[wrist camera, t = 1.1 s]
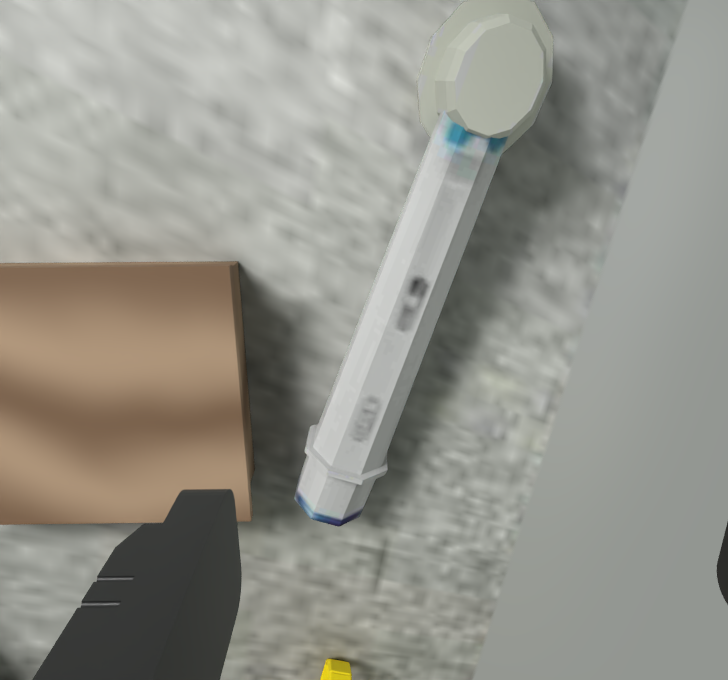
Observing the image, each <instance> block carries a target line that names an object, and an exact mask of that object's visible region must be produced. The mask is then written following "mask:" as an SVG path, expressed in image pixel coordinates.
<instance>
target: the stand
mask: <svg viewBox="0 0 728 680" xmlns="http://www.w3.org/2000/svg"><path fill="white" fill-rule="evenodd" d="M254 470H255V466H254V454H253V441H252V429H251V416H250V404H249V391H248V379H247V367H246V354H245V342H244V329H243V317H242V304H241V292H240V279H239V267H238V261H235V262H103V263H0V525H9V524H85V523H162V522H164V520H165V518H166V517H167V515H168V513H169V511H170V509H171V507H172V505H173V504H174V502H175V500H176V498H177V496H178V495H179V493H180V492H181V491H182V490H185V489H231V490H232V491H233V494H234V498H235V507H236V518H237V522H238V521H251V520H252V516H253V511H252V499H251V487H250V483H251V479H252V476H253V473H254Z"/></svg>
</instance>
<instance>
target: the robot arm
mask: <svg viewBox="0 0 728 680" xmlns="http://www.w3.org/2000/svg"><path fill="white" fill-rule="evenodd" d="M97 577H98V578H97V582H93V584H92V586H91V587H90V589H89V590H88V592H87V594H86V595H85V597H84V598H83V600H82V605H81V608H77V610H76V611H75V613H74V614H73V616H72V618H71V619H70V621H69V622H68V624H67V625H66V627H65V629H64V630H63V632H62V633H61V635H60V637H59V638H58V640H57V641H56V643H55V645H54V646H53V648H52V649H51V651H50V653H49V654H48V656H47V657H46V659H45V661H44V662H43V664H42V665H41V667H40V668H39V670H38V672H37V673H36V675H35V676H34V678H33V680H220V676H221V673H222V669H223V665H224V661H225V658H226V654H227V650H228V646H229V643H230V639H231V635H232V631H233V627H234V624H235V620H236V616H237V612H238V607H239V601H240V594H241V560H240V550H239V539H238V528H237V518H236V507H235V498H234V494H233V491H232V490H231V489H185V490H182V491H181V492H180V493H179V495H178V496H177V498H176V500H175V502H174V504H173V505H172V507H171V509H170V511H169V513H168V515H167V517H166V518H165V520H164V522H163V523H158V524H143V525H142V526H141V527H140V528H138V529H137V530H136V531H135V532H134V533H132V534H131V535H130V536H129V537H127V538H126V539H125V540H124V541H123V542H121V543H120V544H119V545H118V546H117V547H115V549H114V551H113V552H112V554H111V555H110V557H109V559H108V560H107V562H106V563H105V565H104V567H103V568H102V570H101V571H100V573H99V575H98V576H97ZM717 578H718V583H719V587H720V590H721V592H722V595H723V597H724V599H725V601H726V602H727V604H728V523H727V527H726V531H725V536H724V539H723V543H722V547H721V551H720V555H719V559H718V563H717Z"/></svg>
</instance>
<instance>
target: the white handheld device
mask: <svg viewBox="0 0 728 680" xmlns="http://www.w3.org/2000/svg"><path fill="white" fill-rule="evenodd" d="M552 69H553V36H552V34H551V32H550V30H549V28H548V26H547V24H546V22H545V21H544V19H543V17H542V15H541V13H540V11H539V9H538V7H537V5H536V3H535V2H533V1H531V0H467V1H464V2H463V3H462V4H461V5H460V6H459V7H458V8H457V9H456V10H455V11H454V13H453V14H452V15H451V16H450V17H449V18H448V19H447V20H446V21H445V23H444V24H443V25H442V26H441V27H440V28H439V29H438V30H437V32H436V33H435V34H434V35H433V36H432V37H431V40H430V43H429V46H428V49H427V52H426V55H425V58H424V61H423V63H422V66H421V69H420V72H419V75H418V78H417V92H418V105H419V118H420V123H421V124H422V126H423V127H424V129H425V130H426V132H427V133H428V135H429V137H430V141H429V143H428V146H427V148H426V151H425V153H424V156H423V159H422V161H421V164H420V166H419V169H418V171H417V174H416V176H415V179H414V181H413V184H412V187H411V189H410V192H409V194H408V197H407V199H406V202H405V204H404V207H403V209H402V212H401V215H400V217H399V220H398V222H397V225H396V227H395V230H394V232H393V235H392V237H391V240H390V243H389V245H388V248H387V250H386V253H385V255H384V258H383V260H382V263H381V265H380V268H379V271H378V273H377V276H376V278H375V281H374V283H373V286H372V288H371V291H370V294H369V296H368V299H367V301H366V304H365V306H364V309H363V311H362V314H361V316H360V319H359V322H358V324H357V327H356V329H355V332H354V334H353V337H352V339H351V342H350V344H349V347H348V350H347V352H346V355H345V357H344V360H343V362H342V365H341V367H340V370H339V372H338V375H337V378H336V380H335V383H334V385H333V388H332V390H331V393H330V395H329V398H328V400H327V403H326V406H325V408H324V411H323V413H322V416H321V418H320V421H319V423H318V424H316V425H313V426H310V429H309V432H308V437H307V442H306V447H305V453H306V454H307V457H306V459H305V462H304V465H303V468H302V471H301V473H300V476H299V479H298V483H297V488H296V493H295V497H294V499H295V501H296V502H297V503H298V504H299V505H300V507H301V508H302V509H303V510H304V511H305V512H306V514H307V515H308V516H309V517H310V518H311V519H313V520H316V521H320V522H324V523H328V524H331V525H335V526H341V525H343V524H345V523H347V522H350V521H352V520H354V519H356V518H358V517H359V516H360V514H361V512H362V510H363V507H364V505H365V503H366V500H367V498H368V496H369V494H370V491H371V489H372V487H373V484H374V482H375V480H376V479H377V478H379V477H381V476H384V475H385V474H386V472H387V451H388V448H389V445H390V443H391V440H392V438H393V435H394V432H395V430H396V427H397V425H398V422H399V419H400V417H401V414H402V412H403V409H404V406H405V404H406V401H407V399H408V396H409V393H410V391H411V388H412V386H413V383H414V380H415V378H416V375H417V373H418V370H419V367H420V365H421V362H422V360H423V357H424V354H425V352H426V349H427V347H428V344H429V342H430V339H431V336H432V334H433V331H434V329H435V326H436V323H437V321H438V318H439V316H440V313H441V310H442V308H443V305H444V303H445V300H446V297H447V295H448V292H449V290H450V287H451V284H452V282H453V279H454V277H455V274H456V271H457V269H458V266H459V264H460V261H461V258H462V256H463V253H464V251H465V248H466V245H467V243H468V240H469V238H470V235H471V232H472V230H473V227H474V225H475V222H476V219H477V217H478V214H479V212H480V209H481V206H482V204H483V201H484V199H485V196H486V193H487V191H488V188H489V186H490V183H491V180H492V178H493V175H494V173H495V170H496V167H497V165H498V162H499V160H500V157H501V154H502V153H504V152H505V151H506V150H507V149H508V148H509V147H511V146H512V145H513V144H514V143H515V142H516V141H517V140H518V139H519V138H520V137H521V136H522V135H523V134H524V133H525V132H526V131H527V130H528V129H529V128H530V127H531V126H532V125H533V124H534V122H535V120H536V118H537V116H538V113H539V111H540V109H541V106H542V104H543V102H544V100H545V97H546V95H547V93H548V91H549V88H550V86H551V84H552Z"/></svg>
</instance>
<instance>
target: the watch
mask: <svg viewBox="0 0 728 680" xmlns="http://www.w3.org/2000/svg"><path fill="white" fill-rule="evenodd" d="M351 676H352V674H351V668H350V664H349V662H345V661H339V660H334V659H327V660H326V662H325V666H324V669H323V672H322V675H321V679H320V680H352V677H351Z"/></svg>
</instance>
